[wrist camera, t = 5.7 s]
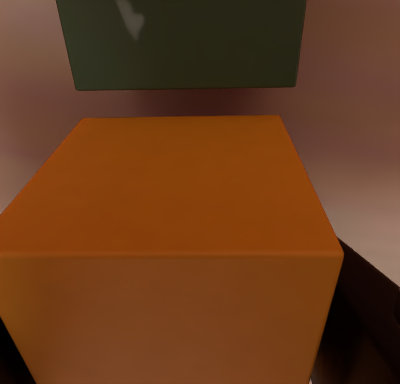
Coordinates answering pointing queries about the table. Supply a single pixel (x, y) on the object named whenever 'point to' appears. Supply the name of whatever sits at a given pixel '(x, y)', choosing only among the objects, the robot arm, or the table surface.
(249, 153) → the mustard block
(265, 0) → the green block
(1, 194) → the table surface
